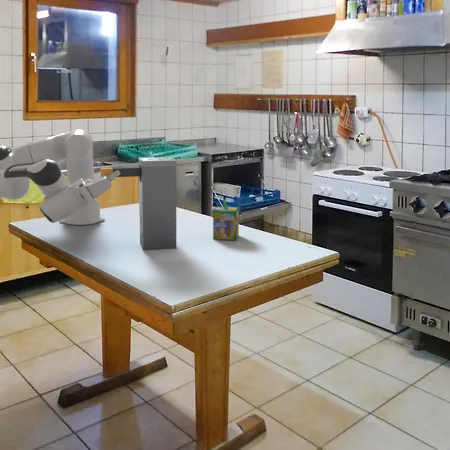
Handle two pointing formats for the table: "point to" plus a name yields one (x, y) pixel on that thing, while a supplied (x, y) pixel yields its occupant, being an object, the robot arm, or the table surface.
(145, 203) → the housing
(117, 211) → the table surface
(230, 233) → the chalk box
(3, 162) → the robot arm
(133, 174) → the plug rod
